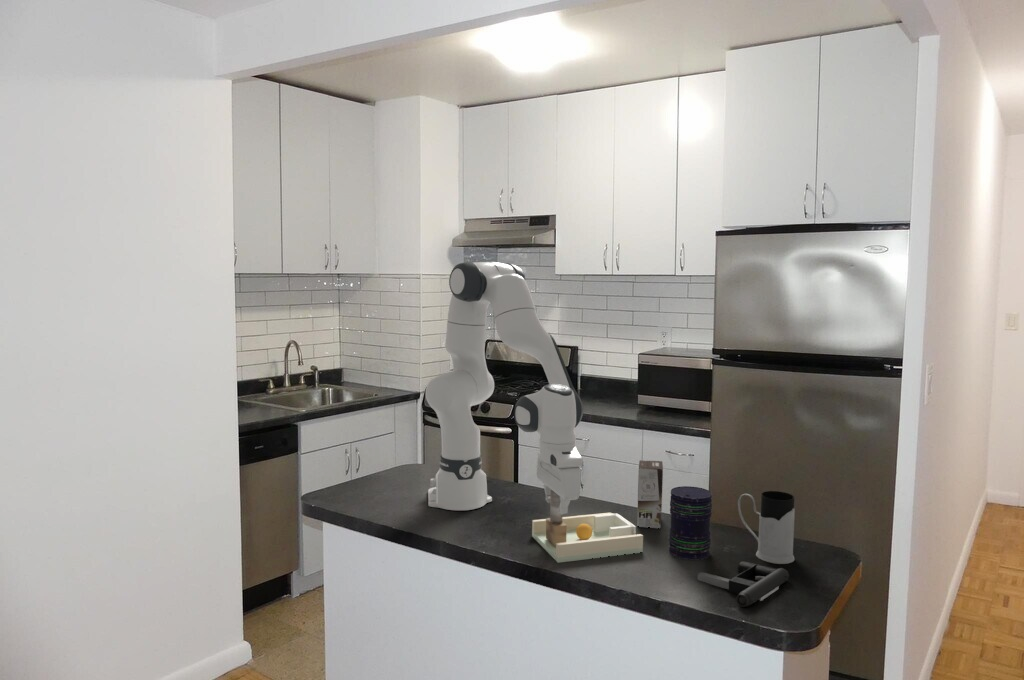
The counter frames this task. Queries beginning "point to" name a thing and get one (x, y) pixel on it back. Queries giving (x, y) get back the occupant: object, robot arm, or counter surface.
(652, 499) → the coffee box
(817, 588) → the counter surface
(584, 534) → the ball
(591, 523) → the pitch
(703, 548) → the storage jar
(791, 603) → the counter surface
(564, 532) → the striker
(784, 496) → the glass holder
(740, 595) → the door handle
